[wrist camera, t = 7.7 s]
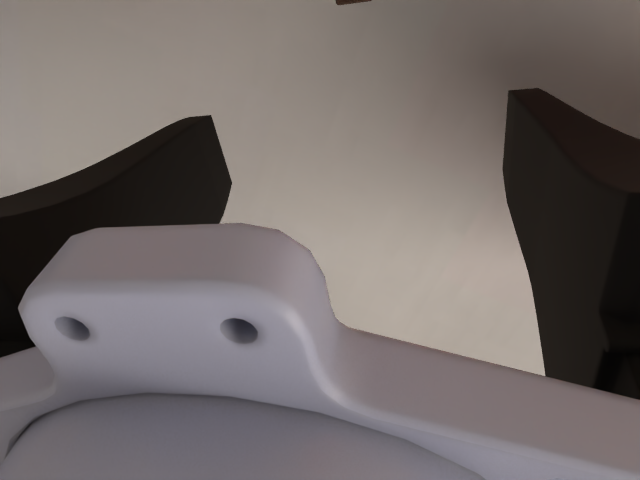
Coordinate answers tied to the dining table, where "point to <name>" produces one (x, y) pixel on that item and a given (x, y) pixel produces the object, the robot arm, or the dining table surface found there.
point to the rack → (349, 1)
